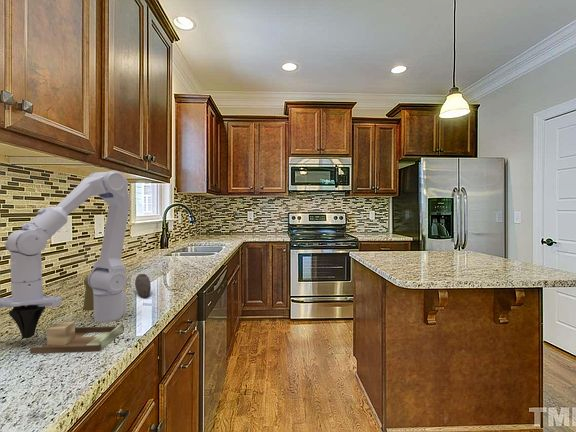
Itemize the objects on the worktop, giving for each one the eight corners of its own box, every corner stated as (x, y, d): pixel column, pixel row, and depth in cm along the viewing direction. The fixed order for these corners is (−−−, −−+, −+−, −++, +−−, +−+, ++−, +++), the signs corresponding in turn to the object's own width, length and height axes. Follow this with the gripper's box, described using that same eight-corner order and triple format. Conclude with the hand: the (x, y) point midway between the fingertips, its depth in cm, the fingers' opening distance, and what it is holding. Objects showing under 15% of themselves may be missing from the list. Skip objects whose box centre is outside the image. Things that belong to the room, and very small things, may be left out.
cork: (107, 304, 112) (106, 273, 111) (97, 310, 106) (97, 277, 105) (89, 304, 111) (89, 273, 111) (79, 310, 105) (78, 277, 105)
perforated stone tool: (152, 298, 119) (152, 279, 119) (137, 300, 117) (136, 281, 117) (149, 289, 132) (148, 272, 132) (134, 290, 130) (134, 273, 130)
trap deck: (64, 338, 83) (64, 324, 83) (124, 336, 84) (123, 323, 84) (30, 360, 72) (29, 344, 71) (100, 357, 72) (99, 342, 72)
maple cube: (58, 338, 79) (57, 322, 79) (75, 338, 80) (74, 322, 80) (47, 345, 76) (46, 328, 75) (65, 345, 76) (64, 328, 76)
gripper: (-21, 285, 72) (-19, 344, 73) (47, 283, 73) (48, 342, 74) (5, 278, 79) (7, 332, 80) (66, 276, 80) (68, 330, 81)
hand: (28, 336), depth 77 cm, fingers closed
